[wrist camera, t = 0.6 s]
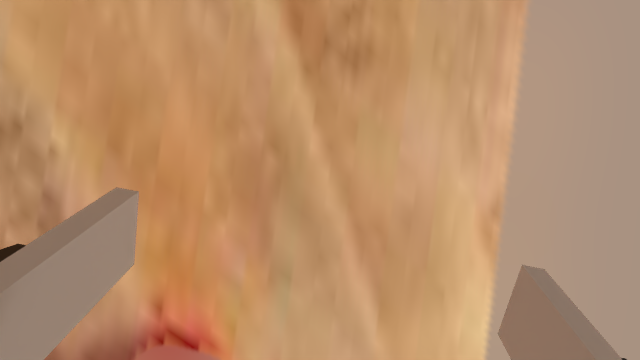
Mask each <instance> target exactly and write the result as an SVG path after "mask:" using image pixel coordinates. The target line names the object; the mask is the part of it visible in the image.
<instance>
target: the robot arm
mask: <svg viewBox="0 0 640 360" xmlns="http://www.w3.org/2000/svg"><path fill="white" fill-rule="evenodd" d="M138 197H139V192H138V191H133V190H128V189H122V188H117V187H116V188H115V189H113V190H112V191H110V192H109V193H107V194H105V195H104V196H102V197H101V198H99V199H98V200H96V201H95V202H93V203H91V204H90V205H88V206H87V207H85V208H84V209H82V210H81V211H79V212H77V213H76V214H74V215H73V216H71V217H70V218H68V219H67V220H65V221H63V222H62V223H60V224H59V225H57V226H56V227H54V228H53V229H51V230H49V231H48V232H46V233H45V234H43V235H42V236H40V237H39V238H37V239H35V240H34V241H32V242H31V243H29V244H28V245H21V244H16V245H13V246H10V247H7V248H4V249H1V250H0V360H44V359H45V358H46V357H47V356H48V355H49V353H50V352H51V351H52V350H53V349H54V348H55V347H56V346H57V345H58V344H59V343H60V342H61V341H62V340H63V339H64V338H65V337H66V335H67V334H68V333H69V332H70V331H71V330H72V329H73V328H74V327H75V326H76V325H77V324H78V323H79V322H80V321H81V320H82V319H83V318H84V316H85V315H86V314H87V313H88V312H89V311H90V310H91V309H92V308H93V307H94V306H95V305H96V304H97V303H98V302H99V301H100V300H101V298H102V297H103V296H104V295H105V294H106V293H107V292H108V291H109V290H110V289H111V288H112V287H113V286H114V285H115V284H116V283H117V282H118V281H119V279H120V278H121V277H122V276H123V275H124V274H125V273H126V272H127V271H128V270H129V269H130V268H131V267H132V266H133V265H134V258H135V243H136V227H137V212H138ZM498 335H499V337H500V339H501V341H502V343H503V345H504V346H505V348H506V350H507V352H508V354H509V356H510V358H511V360H626V359H625V358H621V357H620V356H619V355H618V354H617V353H616V352H615V351H614V349H613V348H612V347H611V346H610V345H609V344H608V342H607V341H606V340H605V339H604V338H603V337H602V335H601V334H600V333H599V332H598V331H597V330H596V329H595V327H594V326H593V325H592V324H591V323H590V322H589V320H588V319H587V318H586V317H585V316H584V315H583V314H582V312H581V311H580V310H579V309H578V308H577V307H576V305H575V304H574V303H573V302H572V301H571V300H570V298H569V297H568V296H567V295H566V294H565V293H564V292H563V290H562V289H561V288H560V287H559V286H558V285H557V284H556V282H555V281H554V280H553V279H552V277H551V276H550V275H549V274H548V273H547V272H546V271H545V270H544V269H540V268H535V267H530V266H525V265H522V267H521V270H520V272H519V275H518V278H517V281H516V284H515V287H514V289H513V292H512V295H511V298H510V301H509V304H508V306H507V309H506V312H505V315H504V318H503V320H502V323H501V326H500V329H499V332H498Z"/></svg>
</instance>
